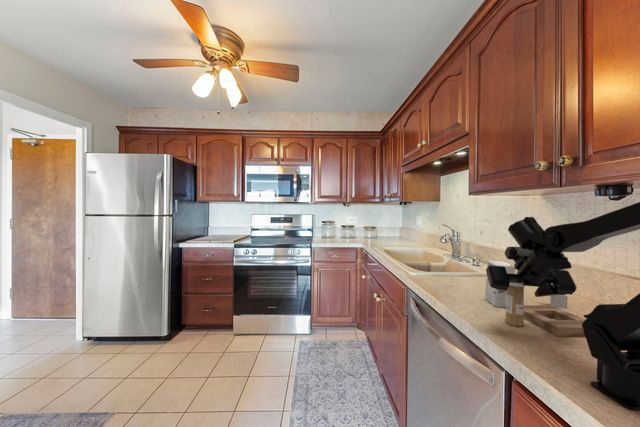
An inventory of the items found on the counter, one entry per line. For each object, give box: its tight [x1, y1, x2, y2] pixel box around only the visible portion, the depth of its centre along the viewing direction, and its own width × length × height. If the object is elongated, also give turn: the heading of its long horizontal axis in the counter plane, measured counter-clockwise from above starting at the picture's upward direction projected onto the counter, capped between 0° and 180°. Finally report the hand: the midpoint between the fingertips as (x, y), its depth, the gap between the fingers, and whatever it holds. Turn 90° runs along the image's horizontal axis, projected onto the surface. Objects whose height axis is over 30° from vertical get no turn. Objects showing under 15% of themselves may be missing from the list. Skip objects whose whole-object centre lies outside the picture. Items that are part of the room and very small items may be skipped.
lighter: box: [549, 294, 568, 309], centre depth 91 cm, size 7×2×8 cm, turn 65°
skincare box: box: [484, 259, 516, 308], centre depth 93 cm, size 8×6×15 cm
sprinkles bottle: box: [504, 283, 525, 327], centre depth 77 cm, size 5×5×14 cm
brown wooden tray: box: [523, 304, 586, 338], centre depth 77 cm, size 16×13×2 cm
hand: (517, 293), depth 75 cm, fingers open, 9 cm apart
